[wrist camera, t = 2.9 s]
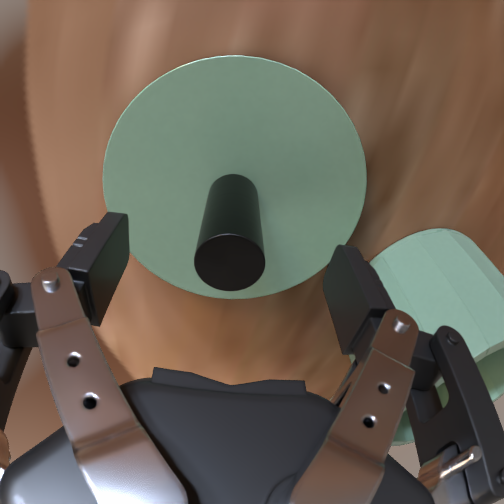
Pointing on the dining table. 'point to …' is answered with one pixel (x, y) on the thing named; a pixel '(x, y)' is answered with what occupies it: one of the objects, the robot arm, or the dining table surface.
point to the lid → (235, 176)
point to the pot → (448, 300)
